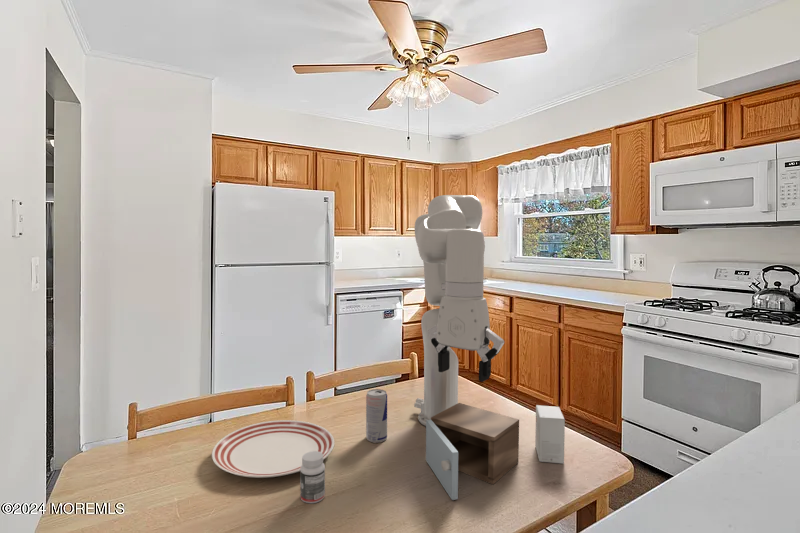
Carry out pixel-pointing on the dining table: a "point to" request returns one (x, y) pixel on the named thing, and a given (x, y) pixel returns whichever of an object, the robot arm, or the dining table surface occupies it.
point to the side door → (442, 459)
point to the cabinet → (481, 440)
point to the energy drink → (376, 415)
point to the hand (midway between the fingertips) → (463, 375)
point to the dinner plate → (270, 448)
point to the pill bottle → (312, 477)
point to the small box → (550, 434)
